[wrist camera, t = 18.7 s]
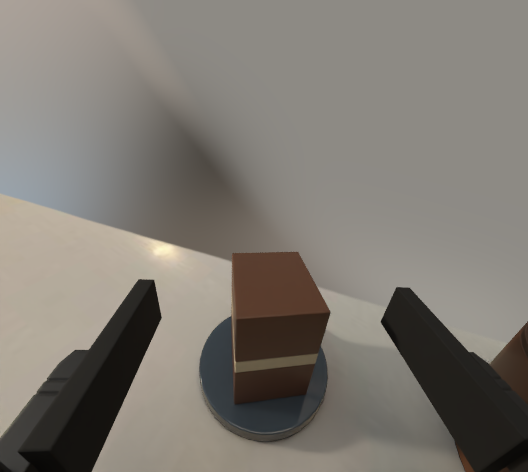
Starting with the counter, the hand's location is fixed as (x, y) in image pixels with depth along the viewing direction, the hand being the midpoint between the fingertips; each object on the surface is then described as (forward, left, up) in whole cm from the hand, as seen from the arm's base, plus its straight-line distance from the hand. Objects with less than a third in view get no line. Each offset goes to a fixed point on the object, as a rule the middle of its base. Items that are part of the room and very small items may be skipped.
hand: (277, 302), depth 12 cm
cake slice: (0, -2, -8) cm, 8 cm away
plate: (0, -2, -9) cm, 9 cm away
